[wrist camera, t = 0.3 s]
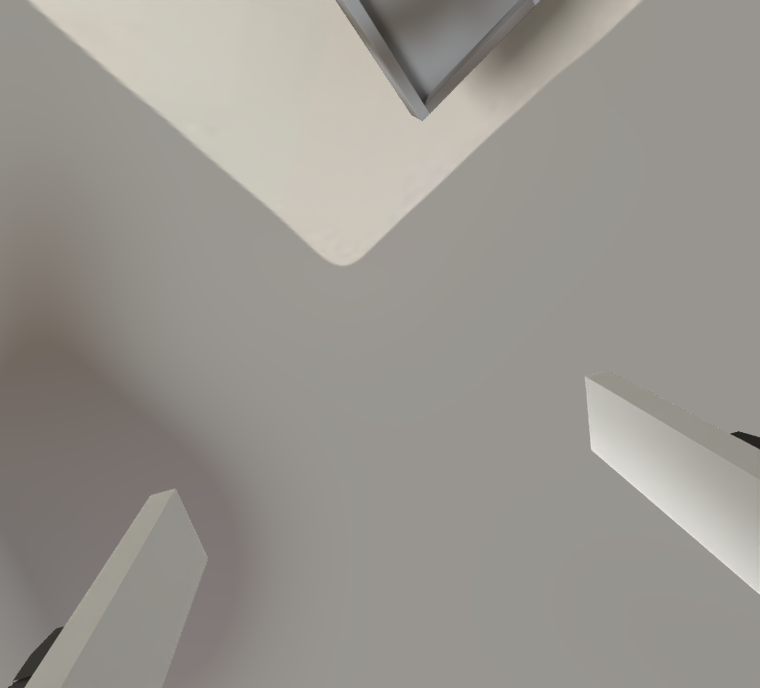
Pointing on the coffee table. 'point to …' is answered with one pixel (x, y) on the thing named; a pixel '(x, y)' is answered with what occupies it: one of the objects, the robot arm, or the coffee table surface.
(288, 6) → the coffee table surface
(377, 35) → the balance beam
